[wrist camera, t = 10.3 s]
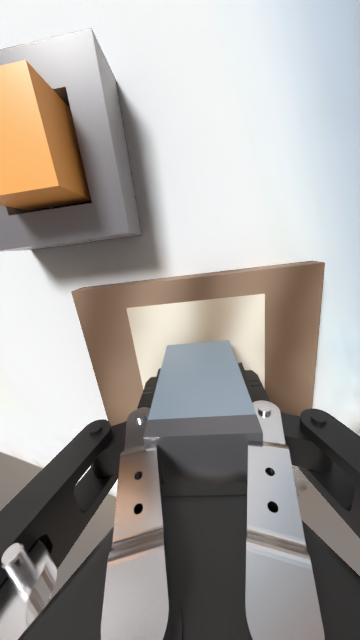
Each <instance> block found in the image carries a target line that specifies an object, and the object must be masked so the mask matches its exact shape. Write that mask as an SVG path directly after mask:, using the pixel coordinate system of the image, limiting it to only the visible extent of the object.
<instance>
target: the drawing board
mask: <svg viewBox="0 0 360 640" xmlns="http://www.w3.org/2000/svg"><path fill="white" fill-rule="evenodd" d="M324 267H325V263H324V262H317V261H306V262H298V263H289V264H280V265H272V266H263V267H255V268H246V269H237V270H229V271H220V272H212V273H203V274H194V275H186V276H177V277H169V278H160V279H151V280H143V281H134V282H126V283H117V284H108V285H100V286H91V287H83V288H80V289H77V290H75V291H72V296H73V299H74V303H75V306H76V310H77V313H78V317H79V320H80V324H81V327H82V331H83V334H84V338H85V341H86V345H87V348H88V352H89V355H90V359H91V362H92V365H93V369H94V372H95V376H96V379H97V383H98V386H99V390H100V393H101V397H102V400H103V404H104V407H105V411H106V414H107V418H108V421H109V423H110V425H111V426H113V425H117V424H120V423H123V422H125V421H127V417H128V416H129V414H130V413H131V412H132V411H134V410H136V409H137V407H138V404H139V401H140V398H141V395H142V394H143V390H144V387H145V384H146V382H147V381H148V380H149V379H150V377H156V376H157V373H158V369H160V368H161V366H162V363H163V359H164V355H165V351H166V347H167V345H176V344H188V343H200V342H212V341H224V340H229V341H230V344H231V347H232V349H233V352H234V355H235V357H236V360H237V363H240V362H242V364H243V367H244V369H245V370H252V371H254V372H255V373H256V374H257V375H258V377H259V379H260V381H261V383H262V386H263V387H264V389H265V391H266V393H267V395H268V397H269V399H270V401H271V403H273V404H275V405H276V406H277V407H278V408H279V410H280V411H281V412H283V413H286V414H290V415H296V416H300V414H301V412H302V411H304V410H306V409H312V403H313V392H314V380H315V369H316V358H317V346H318V335H319V324H320V312H321V301H322V290H323V278H324Z"/></svg>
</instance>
